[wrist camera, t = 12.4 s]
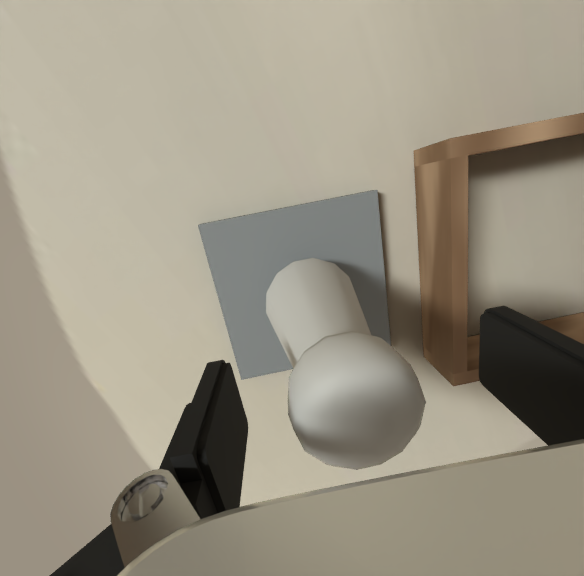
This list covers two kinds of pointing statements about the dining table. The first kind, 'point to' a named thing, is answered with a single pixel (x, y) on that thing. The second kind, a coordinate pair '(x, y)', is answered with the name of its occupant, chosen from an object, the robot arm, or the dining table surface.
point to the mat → (280, 253)
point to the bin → (464, 242)
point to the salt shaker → (340, 370)
